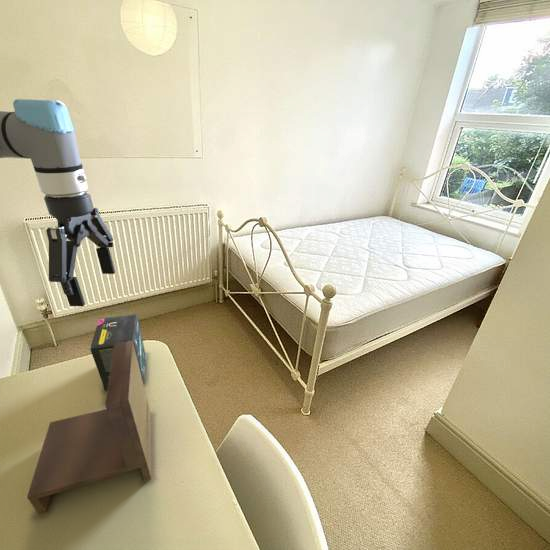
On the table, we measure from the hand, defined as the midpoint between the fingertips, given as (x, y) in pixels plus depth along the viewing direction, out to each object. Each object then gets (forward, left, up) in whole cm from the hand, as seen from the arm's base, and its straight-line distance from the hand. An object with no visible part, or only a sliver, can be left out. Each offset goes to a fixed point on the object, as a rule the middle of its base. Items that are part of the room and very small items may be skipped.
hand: (94, 287), depth 69 cm
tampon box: (+2, +2, -25) cm, 26 cm away
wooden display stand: (+24, -1, -25) cm, 35 cm away
